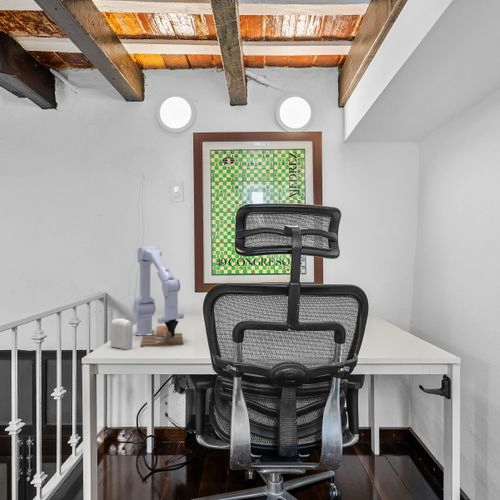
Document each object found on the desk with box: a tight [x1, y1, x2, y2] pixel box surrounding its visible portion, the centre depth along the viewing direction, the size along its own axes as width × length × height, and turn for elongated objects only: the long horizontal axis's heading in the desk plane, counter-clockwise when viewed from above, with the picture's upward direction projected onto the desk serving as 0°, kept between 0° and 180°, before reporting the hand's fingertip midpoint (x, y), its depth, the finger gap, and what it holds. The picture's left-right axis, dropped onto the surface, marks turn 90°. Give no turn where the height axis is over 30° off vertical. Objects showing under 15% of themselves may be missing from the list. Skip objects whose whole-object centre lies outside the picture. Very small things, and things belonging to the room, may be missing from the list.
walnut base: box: [140, 332, 184, 348], centre depth 176 cm, size 18×18×2 cm
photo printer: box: [110, 318, 133, 350], centre depth 165 cm, size 10×4×12 cm, turn 60°
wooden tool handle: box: [156, 325, 171, 339], centre depth 173 cm, size 14×5×4 cm, turn 28°
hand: (171, 337), depth 171 cm, fingers closed, pressing on wooden tool handle
